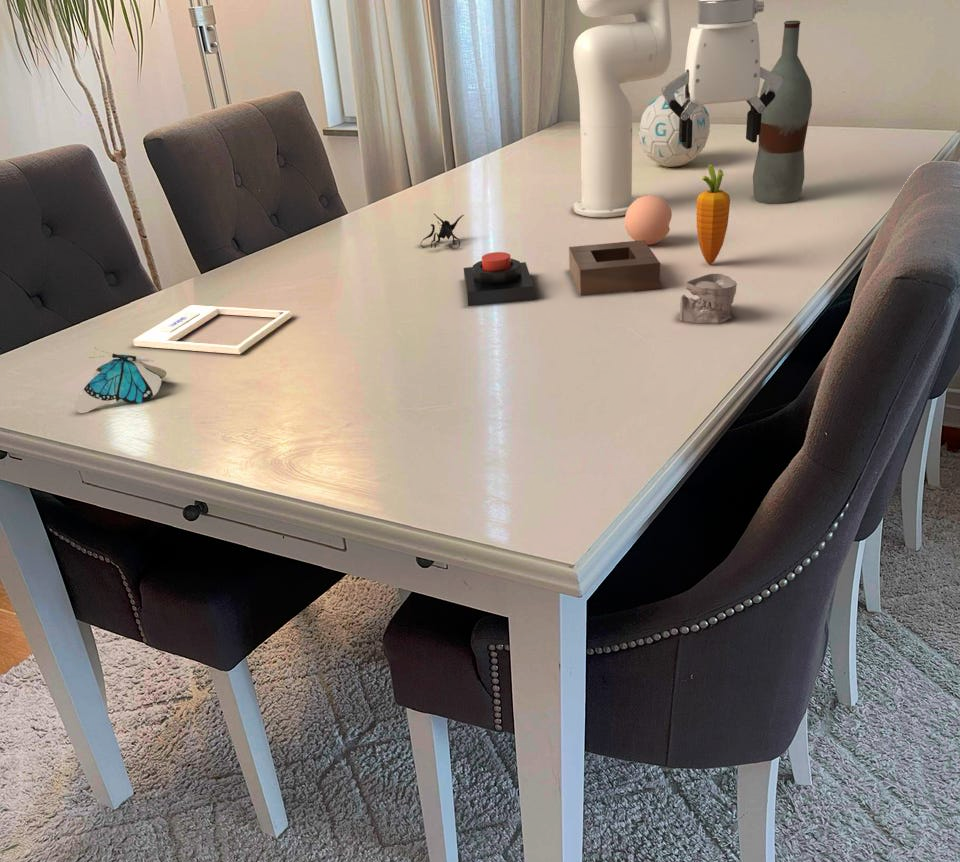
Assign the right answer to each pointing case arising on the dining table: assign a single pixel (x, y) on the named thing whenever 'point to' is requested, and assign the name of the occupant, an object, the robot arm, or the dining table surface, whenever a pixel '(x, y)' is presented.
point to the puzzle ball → (671, 132)
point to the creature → (443, 231)
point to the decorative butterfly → (120, 383)
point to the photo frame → (198, 315)
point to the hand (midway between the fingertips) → (718, 144)
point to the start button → (496, 261)
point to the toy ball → (648, 219)
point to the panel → (498, 284)
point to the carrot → (712, 216)
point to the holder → (614, 267)
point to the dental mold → (708, 299)
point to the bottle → (784, 127)
